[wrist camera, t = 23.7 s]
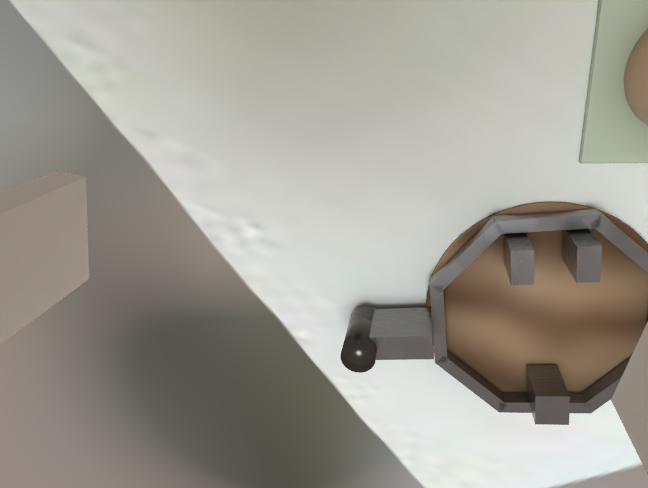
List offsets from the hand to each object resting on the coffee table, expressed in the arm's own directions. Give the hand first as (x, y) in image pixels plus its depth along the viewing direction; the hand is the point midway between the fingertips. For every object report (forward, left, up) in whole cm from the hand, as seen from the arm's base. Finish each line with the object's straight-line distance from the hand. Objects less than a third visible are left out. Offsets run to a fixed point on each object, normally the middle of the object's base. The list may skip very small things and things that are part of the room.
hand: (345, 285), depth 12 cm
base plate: (+16, +11, -29) cm, 35 cm away
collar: (+16, +8, -28) cm, 33 cm away
